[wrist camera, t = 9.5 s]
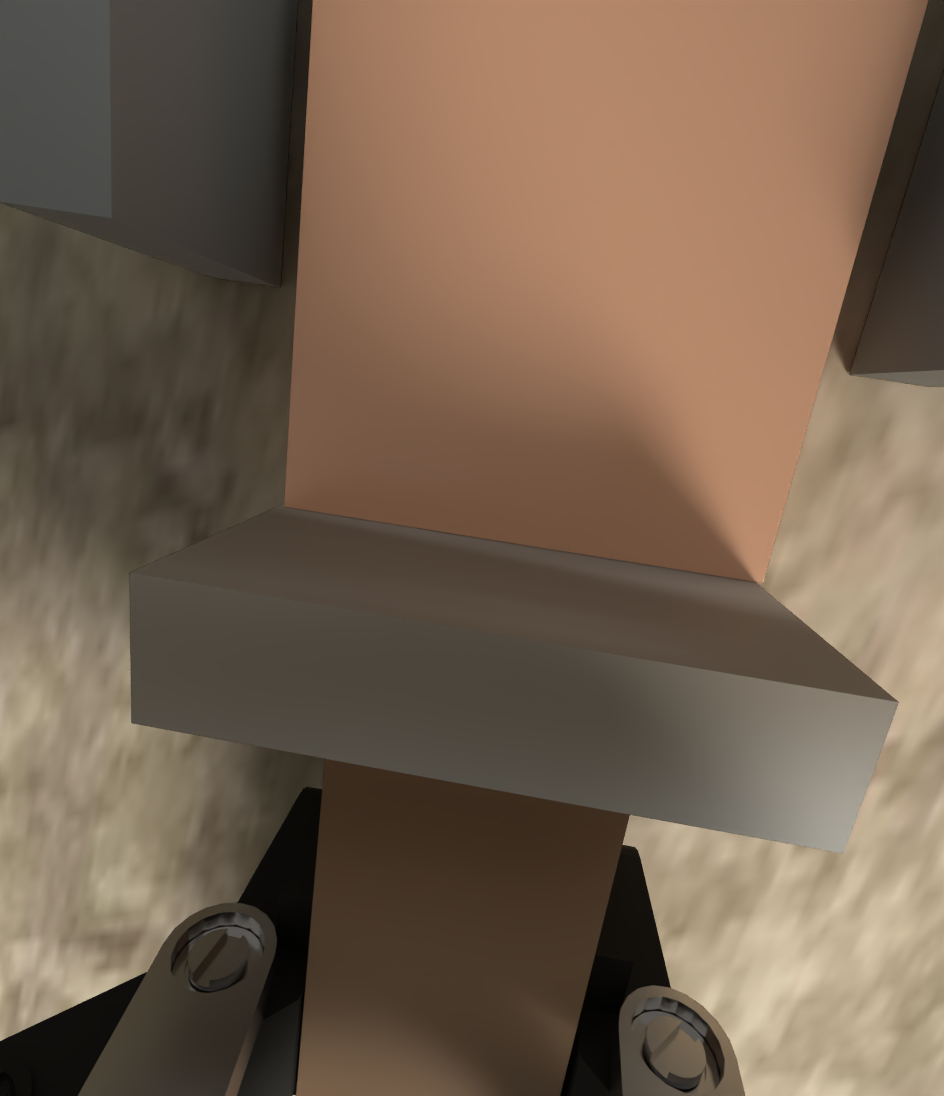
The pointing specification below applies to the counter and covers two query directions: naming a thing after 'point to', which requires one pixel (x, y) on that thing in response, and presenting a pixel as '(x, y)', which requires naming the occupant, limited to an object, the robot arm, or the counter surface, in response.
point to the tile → (581, 262)
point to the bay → (283, 151)
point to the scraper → (489, 762)
